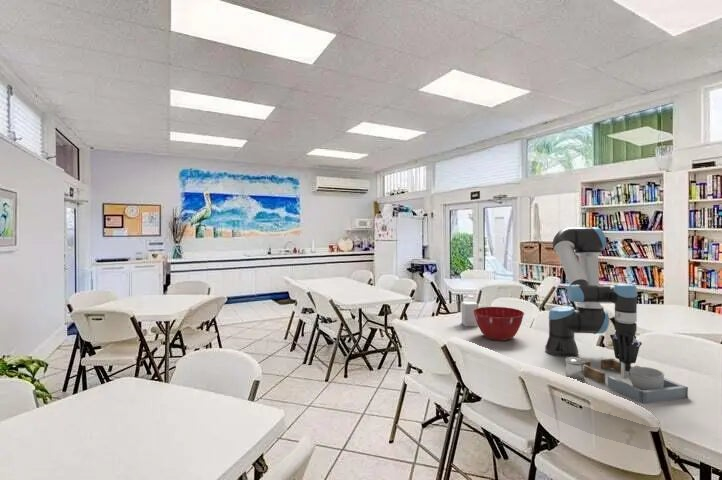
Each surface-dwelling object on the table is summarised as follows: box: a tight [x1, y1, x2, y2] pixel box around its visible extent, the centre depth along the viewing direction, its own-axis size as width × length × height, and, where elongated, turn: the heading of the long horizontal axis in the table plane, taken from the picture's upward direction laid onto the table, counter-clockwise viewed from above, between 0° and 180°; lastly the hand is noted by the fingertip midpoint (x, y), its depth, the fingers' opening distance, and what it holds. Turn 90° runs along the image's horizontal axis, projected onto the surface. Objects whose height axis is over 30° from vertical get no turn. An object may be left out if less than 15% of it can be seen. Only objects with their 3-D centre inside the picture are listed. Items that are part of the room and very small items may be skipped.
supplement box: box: [461, 301, 479, 327], centre depth 257 cm, size 9×9×15 cm
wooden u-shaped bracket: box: [584, 358, 634, 384], centre depth 168 cm, size 14×19×4 cm
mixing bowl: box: [473, 306, 525, 341], centre depth 227 cm, size 28×28×15 cm
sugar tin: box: [564, 356, 586, 382], centre depth 165 cm, size 7×7×8 cm
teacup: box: [629, 364, 665, 391], centre depth 152 cm, size 14×11×8 cm
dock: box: [607, 376, 689, 404], centre depth 150 cm, size 16×20×4 cm
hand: (625, 377), depth 159 cm, fingers closed
